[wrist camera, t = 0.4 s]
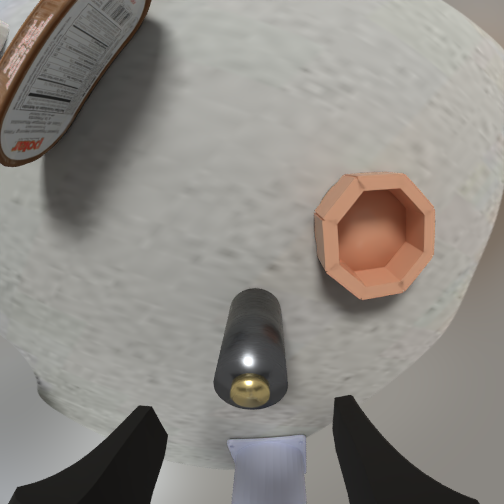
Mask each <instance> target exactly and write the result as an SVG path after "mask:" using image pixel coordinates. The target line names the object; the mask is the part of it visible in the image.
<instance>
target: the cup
mask: <svg viewBox="0 0 504 504" xmlns="http://www.w3.org/2000/svg"><path fill="white" fill-rule="evenodd" d="M315 212H316V213H314V219H315V225H314V232H315V240H316V244H317V256H318V259H319V260H320V262H321V264H322V266H323V267H324V269H325V271H326V273H327V274H328V275H330V276H331V277H332V278H333V279H335V280H336V281H337V282H339V283H340V284H341V285H342V286H344V287H345V288H346V289H347V290H349V291H350V292H351V293H352V294H354V295H355V296H356V297H357V298H359V299H362V300H365V299H371V298H377V297H382V296H388V295H393V294H398V293H403V290H404V291H406V289H407V288H408V287H409V286H410V285H411V284H412V282H413V281H414V280H415V279H416V278H417V276H418V275H419V274H420V273H421V271H422V270H423V269H424V268H425V266H426V265H427V264H428V263H429V261H430V260H431V259H432V257H433V256H432V255H434V238H435V209H434V206H433V205H432V204H431V203H430V202H429V200H428V199H427V198H426V197H425V196H424V195H423V193H422V192H421V191H420V190H419V189H418V188H417V187H416V186H415V184H414V183H413V182H412V181H411V180H410V179H409V178H408V177H407V176H406V175H405V174H403V173H393V172H372V173H356V174H345V176H344V175H343V176H342V177H341V178H340V179H339V181H338V182H337V183H336V184H335V185H333V186H332V187H331V188H330V189H329V190H328V192H327V193H326V194H325V196H324V197H323V199H322V201H321V203H320V204H319V206H318V207H317V208H316V210H315Z"/></svg>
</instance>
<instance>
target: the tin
mask: <svg viewBox="0 0 504 504" xmlns="http://www.w3.org/2000/svg"><path fill="white" fill-rule="evenodd" d="M150 4H151V0H40V1H39V3H38V4H37V5H36V7H35V8H34V9H33V11H32V12H31V13H30V15H29V16H28V17H27V19H26V20H25V22H24V23H23V25H22V26H21V28H20V29H19V31H18V32H17V34H16V35H15V37H14V38H13V40H12V42H11V43H10V45H9V46H8V48H7V50H6V51H5V53H4V55H3V57H2V58H1V60H0V163H1V164H2V165H4V166H7V167H17V166H21V165H25V164H27V163H30V162H33V161H35V160H37V159H39V158H40V157H42V156H43V155H44V154H45V153H47V152H48V151H49V150H50V149H51V148H52V147H53V146H54V145H55V144H56V143H57V142H58V141H59V140H60V139H61V137H62V136H63V135H64V134H65V132H66V131H67V130H68V128H69V127H70V125H71V124H72V122H73V121H74V119H75V117H76V116H77V114H78V112H79V111H80V109H81V107H82V106H83V104H84V103H85V101H86V99H87V98H88V96H89V95H90V93H91V92H92V90H93V89H94V87H95V86H96V84H97V83H98V81H99V80H100V78H101V77H102V76H103V74H104V73H105V71H106V70H107V69H108V67H109V66H110V65H111V63H112V62H113V61H114V59H115V58H116V57H117V55H118V54H119V53H120V52H121V50H122V49H123V48H124V47H125V46H126V44H127V43H128V42H129V41H130V40H131V38H132V37H133V36H134V34H135V33H136V32H137V30H138V29H139V27H140V25H141V24H142V22H143V20H144V18H145V16H146V15H147V12H148V10H149V7H150Z"/></svg>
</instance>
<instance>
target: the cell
mask: <svg viewBox="0 0 504 504" xmlns="http://www.w3.org/2000/svg"><path fill="white" fill-rule="evenodd" d="M214 388H215V391H216V393H217V394H218V396H219V397H220V398H221V399H222V400H224V401H225V402H226V403H228V404H230V405H232V406H235V407H238V408H242V409H262V408H266V407H269V406H272V405H274V404H276V403H277V402H279V401H280V400H281V399H282V398H283V397H284V395H285V394H286V391H287V388H288V381H287V370H286V359H285V348H284V338H283V328H282V318H281V308H280V304H279V302H278V300H277V299H276V297H275V296H274V295H273V294H271V293H270V292H268V291H266V290H263V289H257V288H253V289H247V290H244V291H242V292H240V293H239V294H238V295H237V296H236V297H235V298H234V299H233V301H232V303H231V306H230V311H229V315H228V319H227V324H226V328H225V333H224V337H223V341H222V346H221V350H220V355H219V359H218V363H217V368H216V372H215V377H214Z"/></svg>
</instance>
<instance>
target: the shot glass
mask: <svg viewBox="0 0 504 504" xmlns="http://www.w3.org/2000/svg"><path fill="white" fill-rule="evenodd" d="M8 33H9V25H8V24H7V23H5V22H3V21H1V20H0V51H1V50H2V48H3V46H4V44H5V42H6V39H7V37H8Z"/></svg>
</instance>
